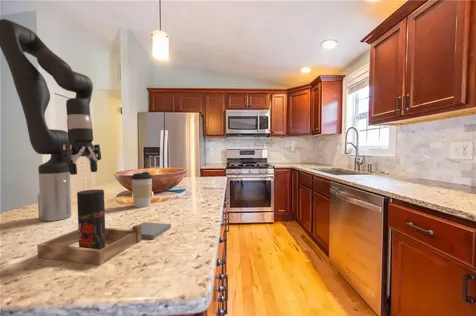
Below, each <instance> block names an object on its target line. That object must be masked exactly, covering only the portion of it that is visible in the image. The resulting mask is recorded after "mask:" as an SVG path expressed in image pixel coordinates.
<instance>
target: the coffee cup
mask: <svg viewBox="0 0 476 316" xmlns="http://www.w3.org/2000/svg"><path fill="white" fill-rule="evenodd" d="M130 180H131V189H132V191H131V192H132V198H133V204H134V207H135V208H147V207H150V206H151V203H152V202H151V201H152V200H151V199H152V191H153V190H152V188H153V183H152V182H153V175H151V174H150V172H148V171H143V172H136V173H133V175H132V176H131V177H130Z"/></svg>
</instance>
